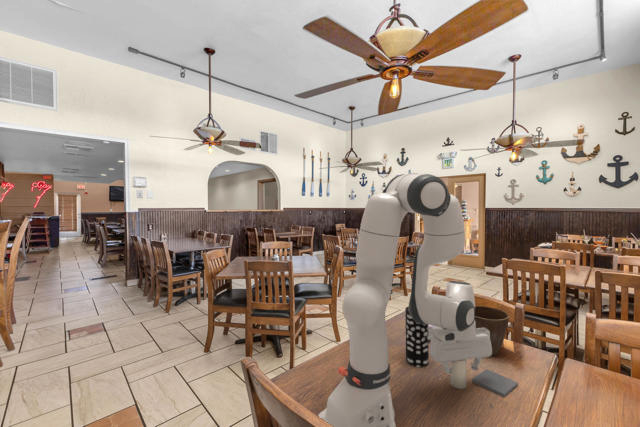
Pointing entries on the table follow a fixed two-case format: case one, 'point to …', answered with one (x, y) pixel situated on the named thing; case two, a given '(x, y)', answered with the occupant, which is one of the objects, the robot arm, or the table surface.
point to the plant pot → (492, 325)
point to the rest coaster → (495, 382)
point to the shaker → (458, 374)
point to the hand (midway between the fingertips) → (461, 371)
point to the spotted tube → (416, 342)
